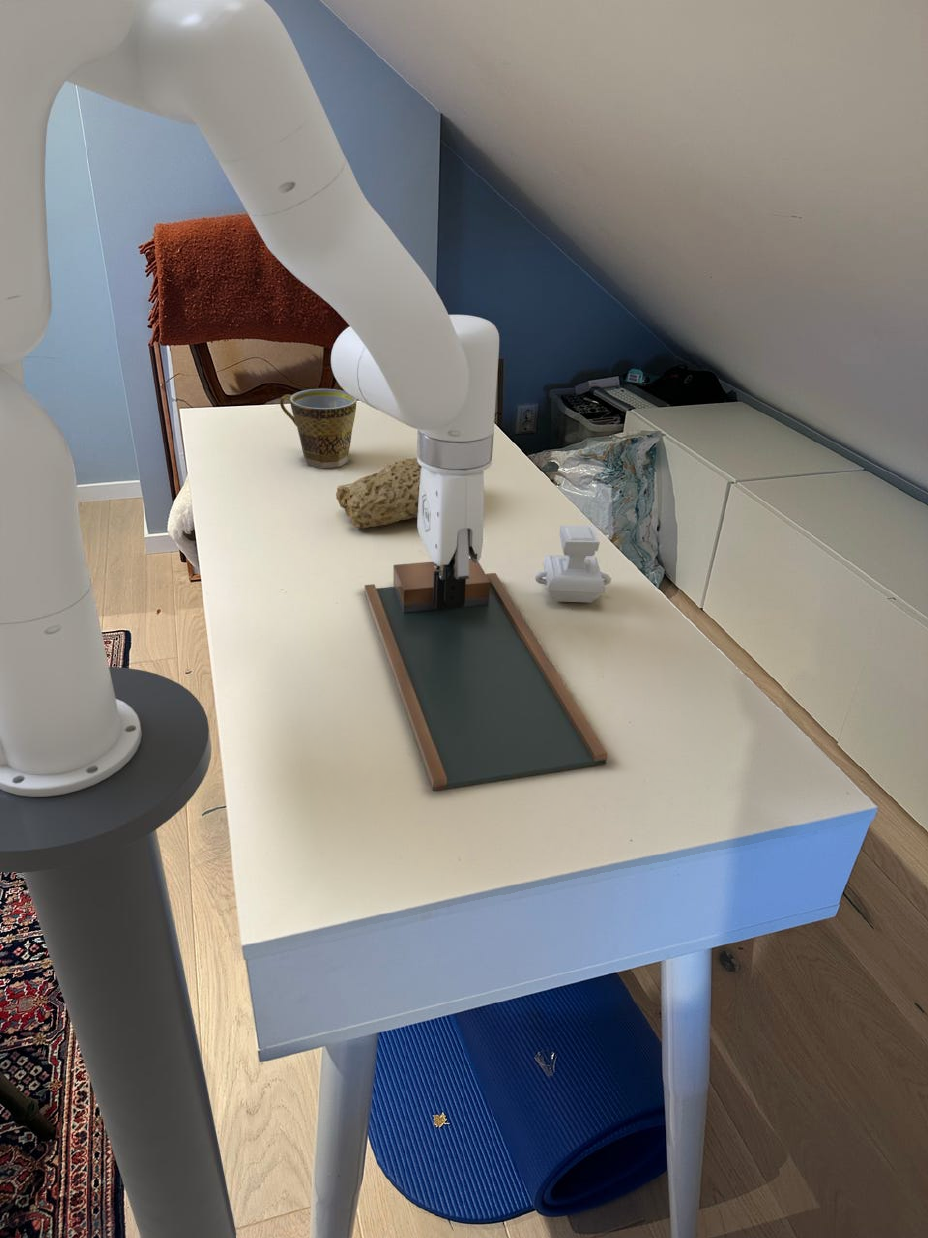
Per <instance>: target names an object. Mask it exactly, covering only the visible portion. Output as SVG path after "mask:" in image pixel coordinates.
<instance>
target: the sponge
mask: <svg viewBox="0 0 928 1238" xmlns="http://www.w3.org/2000/svg"><path fill="white" fill-rule="evenodd" d="M420 474H421V466H420V465H419V463H418V462H417V457H415V458H406V459H404V460H399V461H396V462H394V463H392V464H390V465H388V466H385V467H383V468H382V469H380V470H379V472H375V473H372V474H368V475H365V476H363V477H361V478H358V479H357V480H355V481H354V482H351V483H345V484H341V485H338V486H337V487H336V493H335V497H336V500H337V501H338V504H339V506H340V508H342V509H344V512H345V514H346V515H347V516H348V517H349V518H350V523H351V524H352V526H353V528H354V529H367V528H374V527H379V526H380V527H381V526H387V525H391V524H393V523H397V522H399V521H407V520H410V519H414V518H418V503H419V487H420Z"/></svg>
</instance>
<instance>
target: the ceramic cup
mask: <svg viewBox="0 0 928 1238" xmlns="http://www.w3.org/2000/svg"><path fill="white" fill-rule="evenodd" d="M285 399H286V400H288V401H289V404H290V409H291V412H290V411H288V409H287V408H286V406H285V403H284V401H285ZM357 402H358V400H357V399H356V398H354V397H353V396H351V395H350V394H348V393H347V392H346V391H345V390H341V389H335V388H313V389H312V388H309V389H304V390H301V391H300V390H299V391H298V392H295V393H293V394H284V395H282V396H281V398H280V400H279V406H280V408H281V410H282V411H283V412H284V414H285V415H286V416H287V417H288V418H289V419H290V420H291V421H292V422H293V424H294V426H295V427H296V428H297V429H296V430H297V434H298V436H299V440H300V446H301V451H302V454H303V459H304V461H305V463H306V464H307V466H309V467H313V468H317V469H321V470H324V469H335V468H341V467H342V466H343V465H345V464H348V461H349V455H350V448H351V441H352V434H353V433H352V432H353V426H354V424H355V417H356V411H357Z"/></svg>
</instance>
